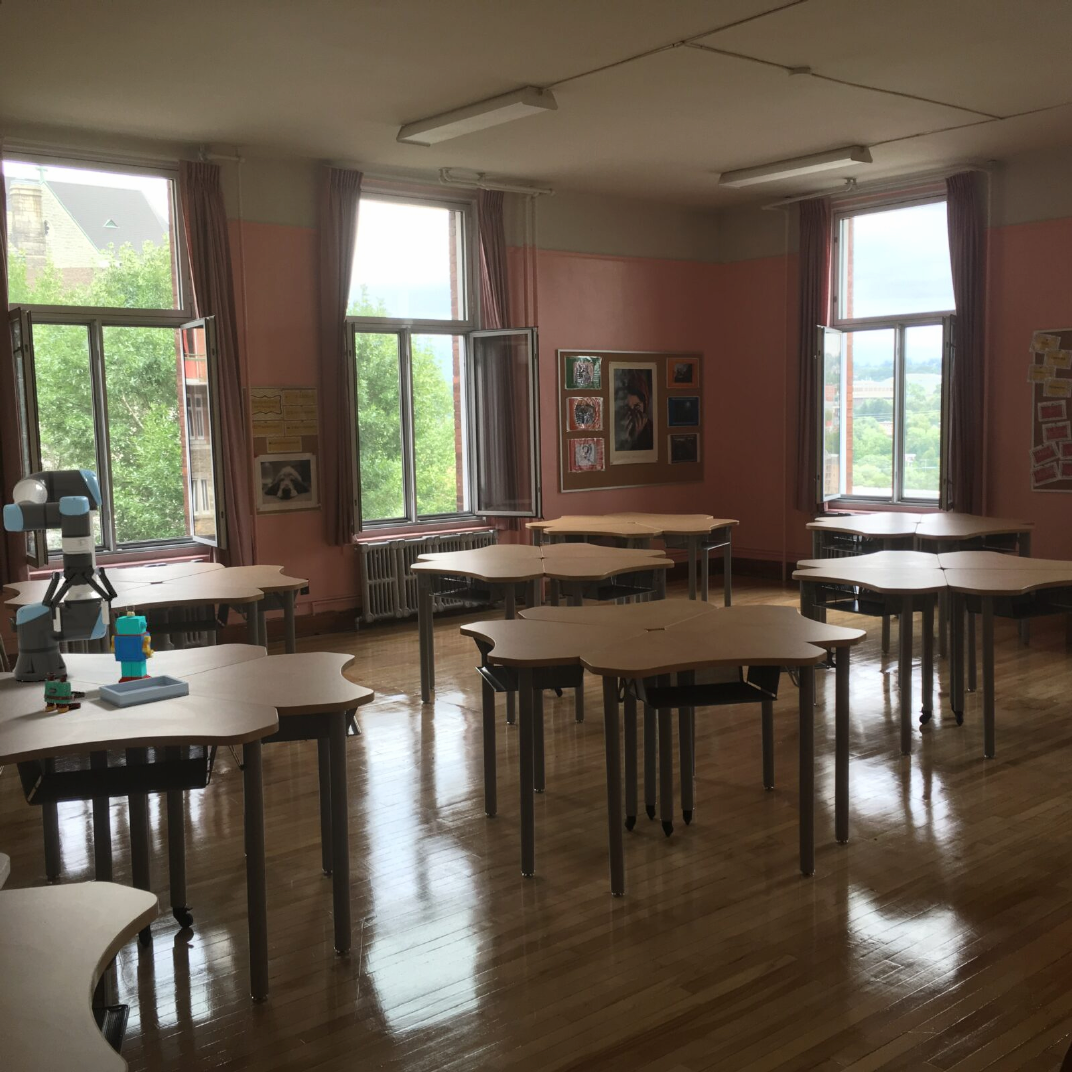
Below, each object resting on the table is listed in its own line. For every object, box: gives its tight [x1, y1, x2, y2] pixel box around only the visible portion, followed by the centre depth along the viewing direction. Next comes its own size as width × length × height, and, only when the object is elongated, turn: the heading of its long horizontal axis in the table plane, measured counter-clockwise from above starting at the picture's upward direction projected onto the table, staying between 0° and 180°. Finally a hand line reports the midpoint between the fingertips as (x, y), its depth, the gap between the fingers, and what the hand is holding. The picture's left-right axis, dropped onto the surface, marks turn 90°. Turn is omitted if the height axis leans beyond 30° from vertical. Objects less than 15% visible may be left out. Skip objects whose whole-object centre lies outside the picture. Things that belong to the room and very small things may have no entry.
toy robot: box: [110, 603, 155, 683], centre depth 327 cm, size 12×6×25 cm, turn 84°
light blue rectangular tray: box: [98, 674, 190, 709], centre depth 314 cm, size 15×20×4 cm
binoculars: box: [43, 672, 86, 714], centre depth 302 cm, size 9×11×10 cm
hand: (82, 627), depth 303 cm, fingers open, 13 cm apart
